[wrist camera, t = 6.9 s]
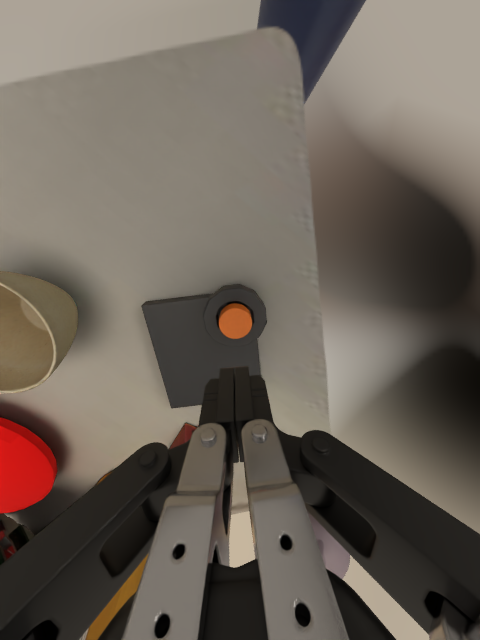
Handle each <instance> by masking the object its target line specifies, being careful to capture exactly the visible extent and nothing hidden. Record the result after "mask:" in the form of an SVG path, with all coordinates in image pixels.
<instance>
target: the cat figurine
mask: <svg viewBox="0 0 480 640" xmlns="http://www.w3.org/2000/svg"><path fill="white" fill-rule="evenodd" d="M307 513H308V516H309V519H310V522H311V525H312V528H313V531H314V534H315V537H316V540H317V543H318V546H319V549H320V552H321V555H322V558H323V561H324V564H325V567H326V569H328V570H330V571H331V572H333V573H334V574H336V575H337V576H338V577H340V578H341V579H342V578H343V577H344V576H345V574H346V572H347V570H348V567H349V563H350V554H349V553H348V552H347V551H346V550H345V549H344V548H343V547H342V546H341V545H340V544H339V543H338V542H337V541H336V540H335V539H334V538H333V537H332V536H331V535H330V534H329V533H328V532H327V531H326V530H325V529H324V528H323V527H322V526H321V525H320V524H319V523H318V521H317V520H316V519H315V518H314V517H313V516H312V515H311V514H310V513H309V512H308V511H307Z"/></svg>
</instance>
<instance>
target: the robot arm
mask: <svg viewBox="0 0 480 640" xmlns="http://www.w3.org/2000/svg"><path fill="white" fill-rule="evenodd" d="M238 446H239V454H238ZM239 455H240V462H244V468H245V478H246V487H247V495H248V503H249V511H250V519H251V527H252V535H253V543H254V552H255V560H253V561H251V562H248V563H246V564H244V565H242V566H240V567H237V568H233V567H229V533H230V519H231V505H232V490H233V463H237V462H239ZM307 511H308V512H309V513H310V514H311V515H312V516H313V517H314V518H315V519H316V520H317V521H318V523H319V524H320V525H321V526H322V527H323V528H324V529H325V530H326V531H327V532H328V533H329V534H330V535H331V536H332V537H333V538H334V539H335V540H336V541H337V542H338V543H339V544H340V545H341V546H342V547H343V548H344V549H345V550H346V551H347V552H348V553H349V554H350V555H351V556H352V557H353V558H354V559H355V560H356V561H357V562H358V563H359V564H360V565H361V566H362V567H363V568H364V569H365V570H366V571H367V572H368V573H369V574H370V575H371V576H372V577H373V578H374V579H375V580H376V581H377V582H378V583H379V584H380V585H381V586H382V588H384V589H385V591H386V592H387V593H389V595H390V596H391V597H392V598H393V599H394V600H395V601H396V602H397V603H398V604H399V605H400V606H401V607H402V608H403V609H404V610H405V611H406V612H407V613H408V614H409V615H410V616H411V617H412V618H413V619H414V620H415V621H416V622H417V623H418V624H419V625H420V626H421V627H422V628H423V629H424V630H425V631H426V632H427V633H428V634H429V636H430V640H480V534H479V533H477V532H475V531H474V530H473V529H471V528H470V527H468V526H467V525H465V524H464V523H462V522H460V521H459V520H458V519H456V518H455V517H453V516H452V515H450V514H449V513H447V512H446V511H444V510H443V509H441V508H440V507H438V506H437V505H435V504H434V503H432V502H431V501H429V500H428V499H426V498H425V497H423V496H422V495H420V494H419V493H417V492H416V491H414V490H413V489H411V488H409V487H408V486H407V485H405V484H404V483H402V482H401V481H399V480H398V479H396V478H395V477H393V476H392V475H390V474H389V473H387V472H386V471H384V470H383V469H381V468H380V467H378V466H377V465H375V464H374V463H372V462H371V461H369V460H368V459H366V458H365V457H363V456H362V455H360V454H359V453H357V452H356V451H354V450H352V449H351V448H350V447H348V446H347V445H345V444H344V443H342V442H341V441H339V440H338V439H336V438H335V437H333V436H332V435H330V434H328V433H326V432H324V431H319V430H313V431H309V432H307V433H305V434H304V435H303V436H302V438H300V437H296V436H291V435H288V434H285V433H283V432H282V431H280V430H279V429H278V428H277V427H276V426H275V424H274V422H273V418H272V413H271V409H270V404H269V399H268V394H267V390H266V385H265V381H264V380H263V378H262V377H261V376H260V375H252V376H250V375H249V367H248V366H243V367H235V372H234V367H231V368H220V374H219V378H216V379H210V380H209V382H208V383H207V384H206V386H205V391H204V397H203V403H202V408H201V414H200V420H199V426H198V428H197V429H196V430H195V431H194V432H193V434H192V435H191V438H190V440H188V441H187V442H185V443H183V444H181V445H179V446H176V447H173V448H171V449H167V447H166V446H165V445H164V444H162V443H150V444H147V445H145V446H143V447H141V448H140V449H139V450H137V451H136V452H135V453H134V454H132V455H131V456H130V457H129V458H128V459H126V460H125V461H124V462H123V463H122V464H121V465H119V466H118V467H117V468H116V469H115V470H113V471H112V472H111V473H110V474H109V475H107V476H106V477H105V478H104V479H103V480H101V481H100V482H99V483H98V484H97V485H95V486H94V487H93V488H92V489H91V490H89V491H88V492H87V493H86V494H85V495H84V496H82V497H81V498H80V499H79V500H78V501H76V502H75V503H74V504H73V505H72V506H70V507H69V508H68V509H67V510H66V511H64V512H63V513H62V514H61V515H60V516H58V517H57V518H56V519H55V520H54V521H52V522H51V523H50V524H49V525H48V526H47V527H45V528H44V529H43V530H42V531H41V532H39V533H38V534H37V535H36V536H35V537H33V538H32V539H31V540H30V541H29V542H27V543H26V544H25V545H24V546H23V547H21V548H20V549H19V550H18V551H17V552H15V553H14V554H13V555H12V556H11V557H10V558H8V559H7V560H6V561H5V562H4V563H2V564H1V565H0V640H79V639H80V638H81V637H82V635H83V634H84V633H85V632H86V630H87V629H88V628H89V627H90V625H91V624H92V623H93V622H94V620H95V619H96V618H97V617H98V616H99V614H100V613H101V612H102V611H103V609H104V608H105V607H106V606H107V604H108V603H109V602H110V601H111V599H112V598H113V597H114V596H115V594H116V593H117V592H118V591H119V589H120V588H121V587H122V586H123V584H124V583H125V582H126V581H127V579H128V578H129V577H130V576H131V574H132V573H133V572H134V571H135V569H136V568H137V567H138V566H139V564H140V563H141V562H142V561H143V559H144V558H145V557H146V556H147V554H148V557H147V560H146V563H145V566H144V569H143V573H142V576H141V579H140V582H139V585H138V589H137V591H136V592H135V593H134V594H133V595H132V596H131V597H130V598H129V599H128V600H127V601H126V603H125V604H124V605H123V606H122V607H121V608H120V609H119V611H118V612H117V613H116V615H115V616H114V617H113V619H112V620H111V621H110V623H109V624H108V626H107V627H106V628H105V630H104V631H103V632H102V634H101V635H100V637H99V638H98V639H97V640H396V639H395V638H394V636H393V635H392V634H391V633H390V632H389V631H388V629H386V627H385V626H384V625H383V623H382V622H381V621H380V620H379V619H378V618H377V616H376V615H375V614H374V613H373V612H372V611H371V609H370V608H369V607H368V606H367V605H366V604H365V602H364V601H363V600H362V599H361V598H360V596H359V595H358V594H357V593H356V592H355V591H354V590H353V589H352V588H351V587H350V586H349V585H348V584H347V583H346V582H345V581H343V580H342V579H341V578H340V577H338V576H337V575H336V574H334V573H333V572H331V571H330V570H328V569H326V567H325V564H324V561H323V558H322V555H321V552H320V549H319V546H318V543H317V540H316V537H315V534H314V531H313V528H312V525H311V522H310V519H309V516H308V513H307Z"/></svg>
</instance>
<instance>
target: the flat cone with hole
mask: <svg viewBox="0 0 480 640" xmlns="http://www.w3.org/2000/svg"><path fill="white" fill-rule="evenodd" d="M56 474H57V463H56V459H55V457H54V455H53V453H52V451H51V449H50V448H49V447H48V446H47V445H46V444H45V443H44V442H43V440H42V439H41V438H39V437H38V436H37V435H35V434H34V433H32V432H31V431H30V430H28V429H27V428H25V427H23V426H21V425H19V424H17V423H14V422H12V421H10V420H8V419H4V418H1V417H0V513H11V512H15V511H18V510H22V509H25V508H27V507H29V506H31V505H33V504H35V503H37V502H38V501H40V500H42V499H44V498H45V496H46V495H47V494H48V493H49V492H50V491H51V489H52V486H53V483H54V480H55V477H56Z"/></svg>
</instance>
